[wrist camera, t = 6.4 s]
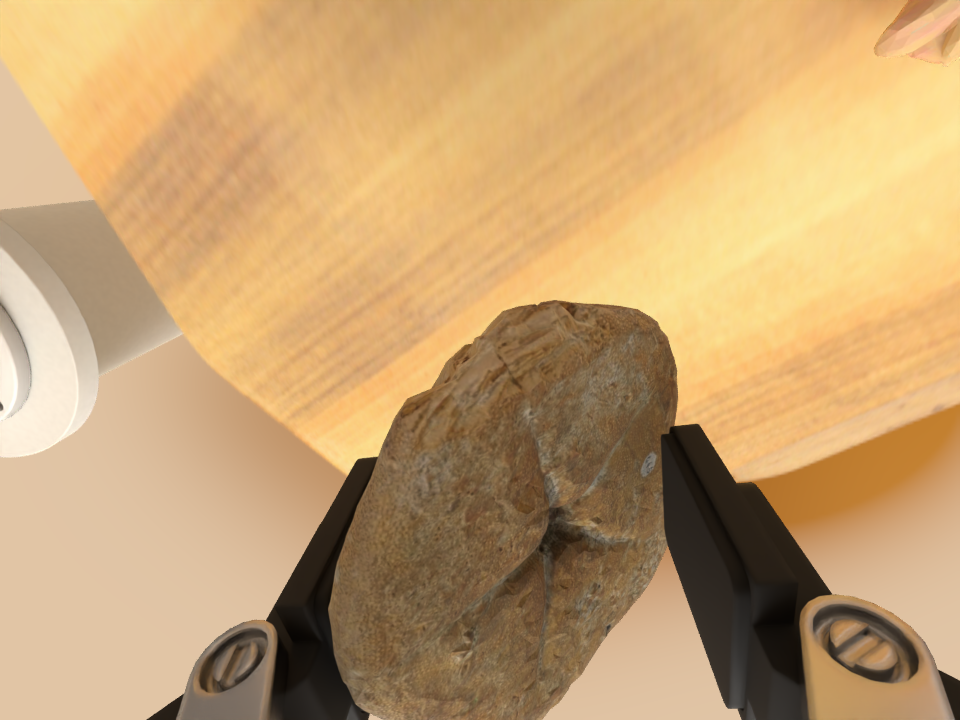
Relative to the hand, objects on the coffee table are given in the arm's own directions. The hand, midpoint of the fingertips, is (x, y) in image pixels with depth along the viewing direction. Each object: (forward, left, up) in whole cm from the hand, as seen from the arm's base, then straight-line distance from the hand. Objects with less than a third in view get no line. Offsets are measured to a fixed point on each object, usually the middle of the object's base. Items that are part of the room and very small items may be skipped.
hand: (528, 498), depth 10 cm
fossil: (0, 0, -3) cm, 3 cm away
